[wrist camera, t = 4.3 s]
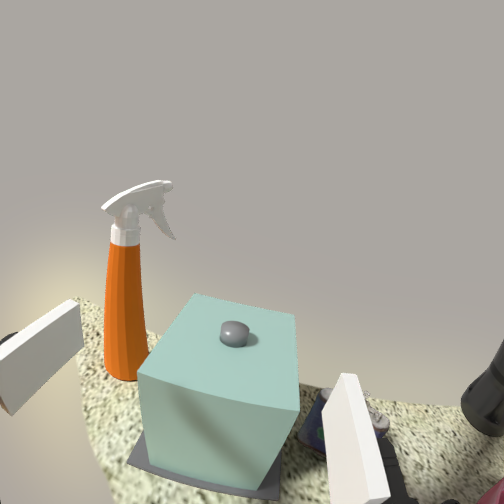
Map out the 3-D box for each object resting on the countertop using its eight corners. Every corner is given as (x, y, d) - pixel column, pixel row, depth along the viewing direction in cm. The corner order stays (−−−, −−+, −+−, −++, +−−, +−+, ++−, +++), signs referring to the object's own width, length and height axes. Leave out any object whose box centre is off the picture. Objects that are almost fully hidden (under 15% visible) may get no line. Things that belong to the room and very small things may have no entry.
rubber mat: (282, 403, 34) (283, 402, 34) (277, 500, 18) (278, 499, 18) (172, 378, 35) (172, 376, 35) (127, 463, 19) (126, 462, 19)
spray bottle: (179, 365, 38) (199, 185, 31) (117, 387, 30) (113, 180, 23) (155, 341, 42) (168, 178, 35) (97, 357, 34) (94, 174, 27)
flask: (292, 439, 28) (321, 381, 25) (305, 427, 30) (334, 369, 27) (351, 474, 22) (396, 421, 19) (361, 459, 24) (404, 405, 21)
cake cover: (266, 403, 33) (297, 305, 29) (256, 490, 19) (305, 399, 15) (186, 385, 34) (195, 283, 29) (150, 464, 20) (135, 358, 16)
